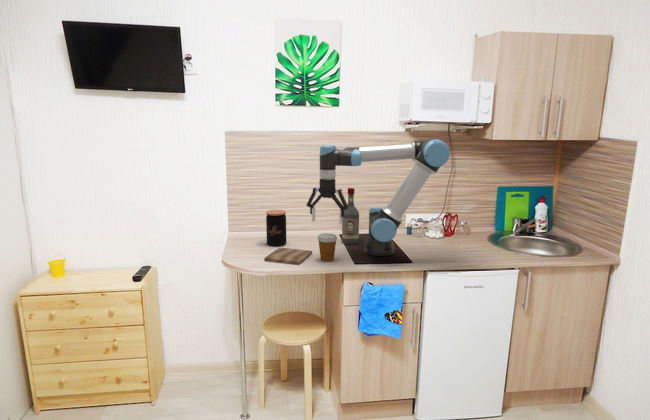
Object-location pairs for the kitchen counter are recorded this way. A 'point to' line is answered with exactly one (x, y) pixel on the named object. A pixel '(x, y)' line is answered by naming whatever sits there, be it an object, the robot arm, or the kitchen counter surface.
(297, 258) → the walnut board
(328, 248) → the disposable coffee cup
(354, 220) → the liquor
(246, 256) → the kitchen counter surface
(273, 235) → the coffee jar
